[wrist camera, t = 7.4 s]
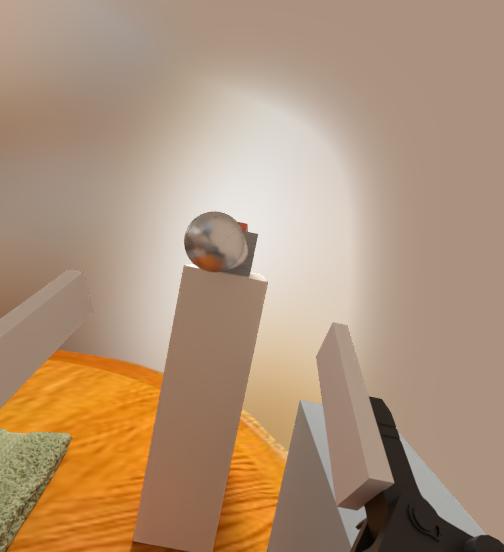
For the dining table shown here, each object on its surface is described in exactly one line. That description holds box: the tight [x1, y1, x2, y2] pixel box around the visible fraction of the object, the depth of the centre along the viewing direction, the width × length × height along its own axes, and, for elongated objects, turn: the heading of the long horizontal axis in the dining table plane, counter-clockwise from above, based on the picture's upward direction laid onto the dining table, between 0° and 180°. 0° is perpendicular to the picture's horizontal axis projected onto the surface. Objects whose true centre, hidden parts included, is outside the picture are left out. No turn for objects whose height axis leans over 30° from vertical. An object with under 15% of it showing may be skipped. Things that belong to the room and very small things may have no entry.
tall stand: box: [133, 265, 268, 552], centre depth 31 cm, size 8×14×28 cm, turn 0°
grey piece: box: [184, 212, 258, 277], centre depth 24 cm, size 4×22×6 cm, turn 0°
